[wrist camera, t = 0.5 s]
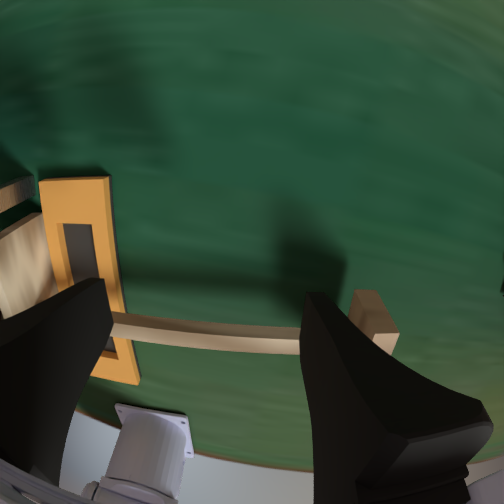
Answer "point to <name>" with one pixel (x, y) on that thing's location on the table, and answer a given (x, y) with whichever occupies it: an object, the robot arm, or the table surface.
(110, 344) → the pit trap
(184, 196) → the table surface
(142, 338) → the sled
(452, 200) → the table surface
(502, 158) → the table surface
